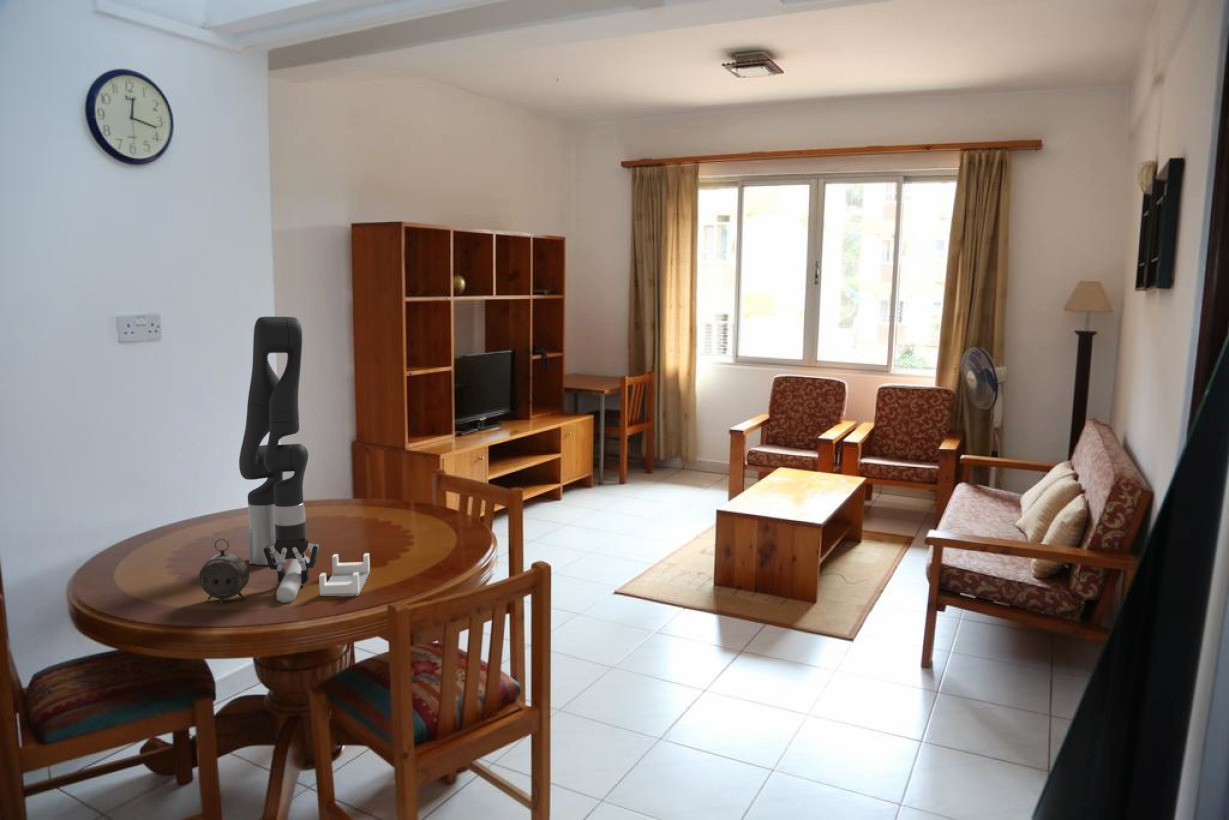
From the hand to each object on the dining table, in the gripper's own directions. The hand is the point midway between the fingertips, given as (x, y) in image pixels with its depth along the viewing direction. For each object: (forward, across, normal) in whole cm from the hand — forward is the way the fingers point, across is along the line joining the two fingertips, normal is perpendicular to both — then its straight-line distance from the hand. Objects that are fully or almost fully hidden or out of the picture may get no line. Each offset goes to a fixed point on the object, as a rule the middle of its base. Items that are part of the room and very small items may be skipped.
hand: (293, 583), depth 227 cm
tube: (+2, 0, 0) cm, 2 cm away
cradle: (+1, +13, 0) cm, 13 cm away
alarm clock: (+1, -14, -9) cm, 17 cm away
